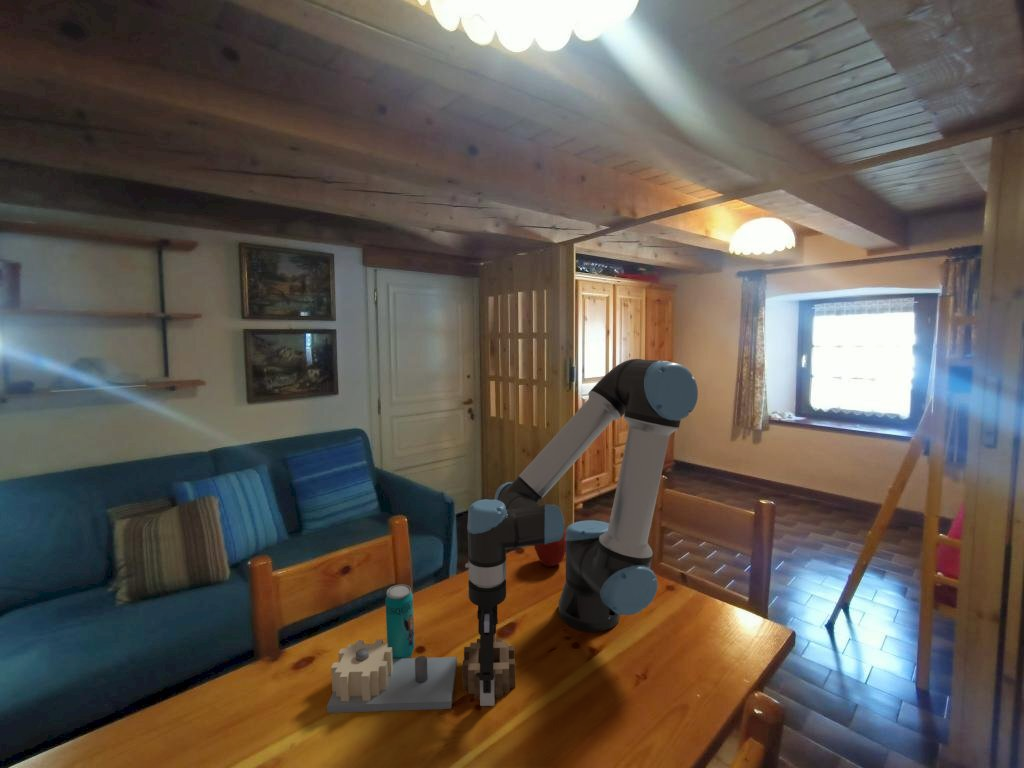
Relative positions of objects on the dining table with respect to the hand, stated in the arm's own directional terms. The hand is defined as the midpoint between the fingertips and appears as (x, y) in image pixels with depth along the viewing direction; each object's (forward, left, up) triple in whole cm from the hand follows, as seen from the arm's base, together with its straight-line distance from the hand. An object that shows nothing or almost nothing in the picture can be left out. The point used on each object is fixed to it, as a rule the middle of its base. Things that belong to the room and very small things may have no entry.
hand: (488, 677), depth 94 cm
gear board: (+18, +1, 0) cm, 18 cm away
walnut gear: (0, 0, 0) cm, 0 cm away
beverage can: (+19, -8, 0) cm, 21 cm away
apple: (-18, -47, 0) cm, 50 cm away
